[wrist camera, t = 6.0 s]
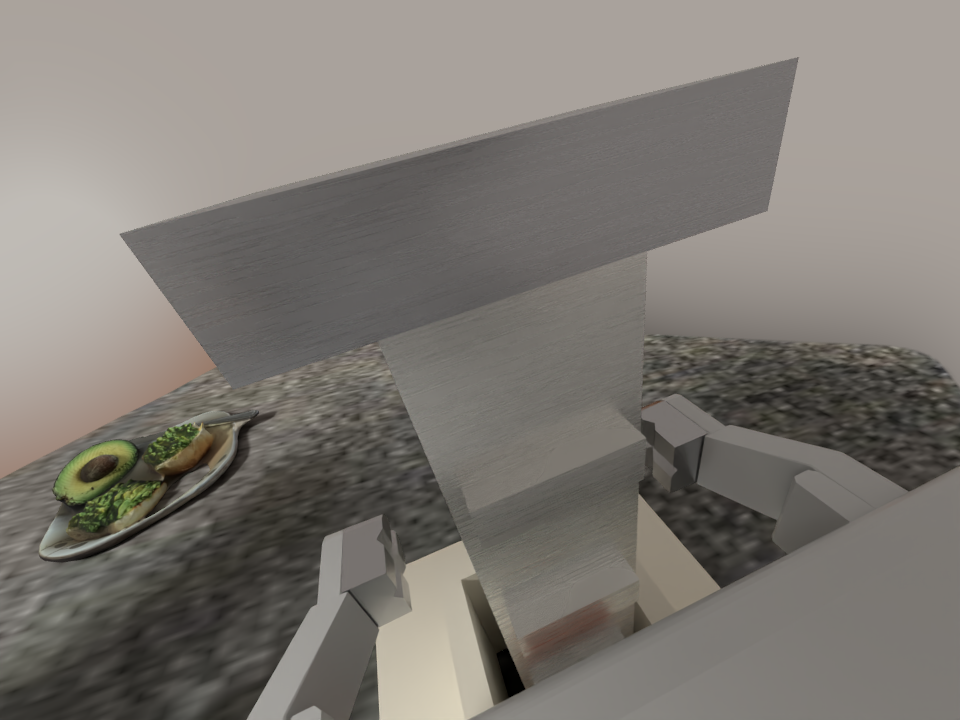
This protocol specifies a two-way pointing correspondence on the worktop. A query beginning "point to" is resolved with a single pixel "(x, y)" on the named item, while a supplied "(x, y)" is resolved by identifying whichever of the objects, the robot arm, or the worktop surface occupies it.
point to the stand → (477, 637)
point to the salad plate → (134, 483)
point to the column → (496, 318)
